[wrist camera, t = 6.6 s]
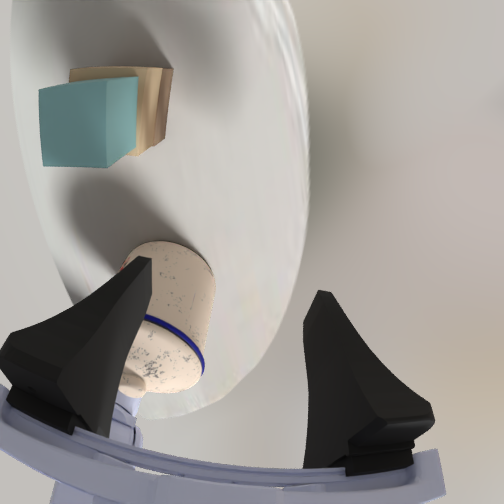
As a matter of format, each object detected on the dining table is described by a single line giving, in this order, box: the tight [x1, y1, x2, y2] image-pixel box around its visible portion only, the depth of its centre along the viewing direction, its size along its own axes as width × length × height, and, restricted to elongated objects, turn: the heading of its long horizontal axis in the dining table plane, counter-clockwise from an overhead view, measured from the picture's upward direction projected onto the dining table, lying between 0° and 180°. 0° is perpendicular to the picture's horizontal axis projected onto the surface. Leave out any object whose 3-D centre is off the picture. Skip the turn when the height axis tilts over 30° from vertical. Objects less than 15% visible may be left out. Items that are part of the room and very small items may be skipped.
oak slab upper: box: [69, 66, 163, 156], centre depth 15 cm, size 5×5×2 cm
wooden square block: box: [152, 68, 173, 146], centre depth 17 cm, size 5×5×2 cm
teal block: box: [39, 77, 139, 168], centre depth 12 cm, size 4×4×4 cm
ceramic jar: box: [118, 241, 216, 398], centre depth 22 cm, size 12×9×12 cm
